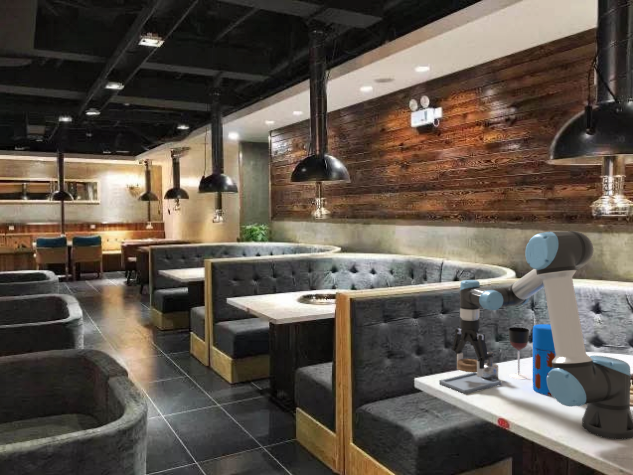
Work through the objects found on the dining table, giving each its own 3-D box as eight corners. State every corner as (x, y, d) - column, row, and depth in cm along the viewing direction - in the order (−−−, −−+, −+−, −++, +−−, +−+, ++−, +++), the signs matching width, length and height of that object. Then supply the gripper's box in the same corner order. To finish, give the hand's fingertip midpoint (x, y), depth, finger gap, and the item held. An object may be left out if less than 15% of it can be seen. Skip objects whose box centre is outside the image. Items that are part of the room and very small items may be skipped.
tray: (500, 384, 212) (500, 381, 212) (464, 394, 202) (464, 390, 202) (474, 375, 224) (474, 371, 224) (439, 384, 214) (439, 380, 214)
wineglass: (509, 379, 219) (509, 331, 218) (507, 372, 227) (507, 326, 226) (530, 380, 217) (530, 332, 216) (527, 373, 225) (527, 327, 224)
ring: (482, 373, 207) (483, 366, 206) (457, 371, 209) (457, 365, 209) (482, 365, 216) (482, 359, 216) (457, 364, 219) (457, 358, 218)
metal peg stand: (499, 382, 214) (499, 355, 213) (481, 381, 216) (481, 354, 215) (498, 377, 221) (498, 351, 220) (480, 376, 223) (480, 350, 222)
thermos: (566, 396, 198) (566, 330, 196) (535, 394, 200) (536, 330, 198) (558, 386, 208) (559, 324, 207) (530, 385, 211) (530, 323, 209)
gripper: (498, 322, 203) (498, 378, 205) (456, 312, 223) (456, 363, 224) (485, 325, 200) (484, 382, 201) (443, 314, 219) (443, 366, 221)
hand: (469, 372), depth 213 cm, fingers closed on ring, 10 cm apart
